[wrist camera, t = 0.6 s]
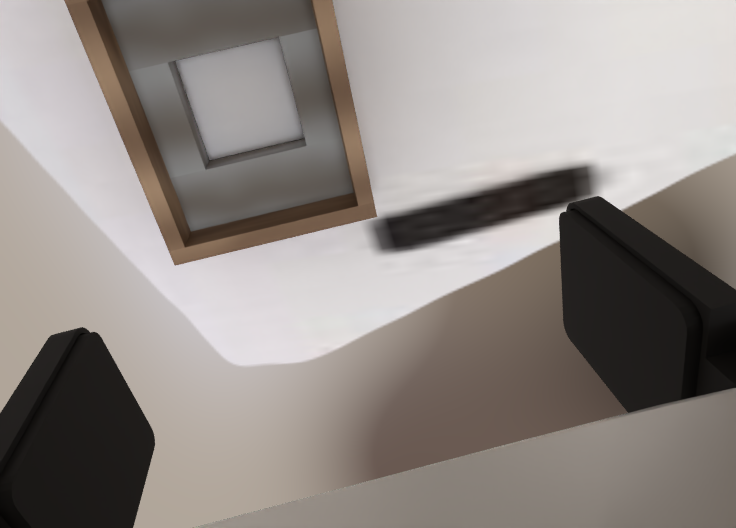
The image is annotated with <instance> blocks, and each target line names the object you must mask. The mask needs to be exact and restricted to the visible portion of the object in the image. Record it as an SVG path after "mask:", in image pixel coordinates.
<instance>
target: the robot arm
mask: <svg viewBox="0 0 736 528" xmlns="http://www.w3.org/2000/svg"><path fill="white" fill-rule="evenodd" d="M559 229H560V252H561V276H562V299H563V321H564V327H565V331H566V333H567V335H568V337H569V339H570V340H571V342H572V343H573V344H574V345H575V347H576V348H577V349H578V350H579V352H580V353H581V354H582V355H583V357H584V358H585V359H586V360H587V361H588V363H589V364H590V365H591V367H592V368H593V369H594V370H595V372H596V373H597V374H598V375H599V377H600V378H601V379H602V380H603V382H604V383H605V384H606V385H607V387H608V388H609V389H610V390H611V392H612V393H613V394H614V395H615V397H616V398H617V399H618V400H619V402H620V403H621V404H622V406H623V407H624V408H625V409H626V411H627V412H628V413H627V414H623V415H619V416H615V417H611V418H607V419H603V420H600V421H596V422H592V423H588V424H584V425H580V426H576V427H573V428H569V429H565V430H561V431H557V432H553V433H550V434H546V435H542V436H538V437H534V438H530V439H526V440H523V441H519V442H515V443H511V444H507V445H504V446H500V447H496V448H492V449H488V450H484V451H481V452H477V453H473V454H470V455H466V456H462V457H458V458H454V459H450V460H447V461H443V462H439V463H435V464H432V465H428V466H424V467H420V468H417V469H413V470H409V471H405V472H401V473H398V474H394V475H390V476H387V477H383V478H379V479H375V480H371V481H367V482H364V483H360V484H357V485H352V486H349V487H346V488H341V489H338V490H334V491H330V492H326V493H322V494H319V495H315V496H311V497H307V498H303V499H300V500H296V501H292V502H288V503H285V504H281V505H277V506H273V507H269V508H266V509H262V510H258V511H254V512H251V513H247V514H243V515H239V516H235V517H232V518H228V519H224V520H221V521H217V522H213V523H209V524H206V525H202V526H198V527H194V528H736V290H735V289H734V288H732V287H731V286H729V285H728V284H727V283H725V282H724V281H722V280H721V279H719V278H718V277H716V276H715V275H713V274H712V273H711V272H709V271H708V270H706V269H705V268H703V267H702V266H700V265H699V264H697V263H696V262H694V261H693V260H692V259H690V258H689V257H687V256H686V255H684V254H683V253H681V252H680V251H679V250H677V249H676V248H674V247H673V246H671V245H670V244H668V243H667V242H666V241H664V240H663V239H661V238H660V237H658V236H657V235H655V234H654V233H653V232H651V231H650V230H648V229H647V228H645V227H644V226H642V225H641V224H639V223H638V222H636V221H635V220H634V219H632V218H631V217H629V216H628V215H626V214H625V213H624V212H622V211H621V210H619V209H618V208H616V207H615V206H613V205H612V204H610V203H609V202H608V201H606V200H605V199H603V198H602V197H599V196H597V197H593V198H589V199H585V200H581V201H577V202H573V203H570V204H569V205H568V206H567V210H566V212H562V213H561V214H560V217H559ZM154 446H155V439H154V433H153V430H152V428H151V426H150V424H149V423H148V421H147V419H146V417H145V416H144V414H143V412H142V410H141V408H140V406H139V405H138V403H137V401H136V399H135V397H134V396H133V394H132V392H131V390H130V388H129V387H128V385H127V383H126V381H125V380H124V378H123V376H122V374H121V372H120V370H119V369H118V367H117V365H116V363H115V361H114V360H113V358H112V356H111V354H110V352H109V351H108V349H107V347H106V345H105V344H104V342H103V340H102V338H101V337H100V335H99V334H98V333H96V332H91V333H90V332H89V331H88V330H87V329H85V328H83V327H82V328H77V329H74V330H70V331H66V332H62V333H58V334H54V335H51V336H50V337H49V338H48V340H47V341H46V343H45V344H44V346H43V348H42V349H41V351H40V352H39V354H38V355H37V357H36V359H35V360H34V362H33V363H32V365H31V366H30V368H29V369H28V371H27V372H26V374H25V376H24V377H23V379H22V380H21V382H20V383H19V385H18V387H17V389H16V390H15V391H14V393H13V394H12V396H11V397H10V399H9V401H8V402H7V404H6V406H5V407H4V408H3V410H2V412H1V413H0V528H133V526H134V522H135V519H136V515H137V511H138V507H139V504H140V500H141V496H142V492H143V488H144V485H145V481H146V477H147V474H148V470H149V466H150V462H151V458H152V455H153V451H154Z"/></svg>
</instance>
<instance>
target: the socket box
mask: <svg viewBox="0 0 736 528" xmlns="http://www.w3.org/2000/svg"><path fill="white" fill-rule="evenodd" d="M64 1H65V3H66V5H67V8H68V10H69V13H70V15H71V17H72V20H73V22H74V25H75V27H76V29H77V32H78V34H79V37H80V39H81V41H82V44H83V46H84V49H85V51H86V53H87V56H88V58H89V61H90V63H91V65H92V68H93V70H94V73H95V75H96V77H97V80H98V82H99V85H100V87H101V89H102V92H103V94H104V97H105V99H106V101H107V104H108V106H109V109H110V111H111V113H112V116H113V118H114V121H115V123H116V125H117V128H118V130H119V133H120V135H121V137H122V140H123V142H124V145H125V147H126V149H127V152H128V154H129V157H130V159H131V161H132V164H133V166H134V169H135V171H136V173H137V176H138V178H139V181H140V183H141V185H142V188H143V190H144V193H145V195H146V197H147V200H148V202H149V205H150V207H151V209H152V212H153V214H154V217H155V219H156V221H157V224H158V226H159V229H160V231H161V233H162V236H163V238H164V241H165V243H166V245H167V248H168V250H169V253H170V255H171V257H172V260H173V262H174V265H179V264H183V263H187V262H191V261H195V260H200V259H204V258H208V257H212V256H216V255H220V254H225V253H229V252H233V251H237V250H241V249H245V248H249V247H254V246H258V245H262V244H266V243H270V242H274V241H278V240H283V239H287V238H291V237H295V236H299V235H303V234H308V233H312V232H316V231H320V230H324V229H328V228H332V227H337V226H341V225H345V224H349V223H353V222H357V221H361V220H366V219H370V218H374V217H377V214H376V210H375V205H374V200H373V195H372V190H371V185H370V181H369V176H368V171H367V166H366V161H365V157H364V152H363V147H362V142H361V137H360V132H359V128H358V123H357V118H356V113H355V108H354V103H353V99H352V94H351V89H350V84H349V79H348V75H347V70H346V65H345V60H344V55H343V50H342V46H341V41H340V36H339V31H338V26H337V22H336V17H335V12H334V7H333V2H332V0H64ZM277 37H279V40H280V44H281V48H282V52H283V55H284V59H285V63H286V67H287V71H288V75H289V79H290V83H291V87H292V91H293V94H294V98H295V102H296V106H297V110H298V114H299V118H300V122H301V126H302V130H303V133H304V137H305V139H300V140H296V141H292V142H288V143H283V144H279V145H275V146H271V147H266V148H262V149H258V150H254V151H249V152H245V153H241V154H237V155H232V156H228V157H224V158H220V159H215V160H211V161H209V159H208V156H207V153H206V150H205V147H204V144H203V141H202V138H201V136H200V133H199V130H198V127H197V124H196V121H195V118H194V115H193V113H192V110H191V107H190V104H189V101H188V98H187V95H186V92H185V89H184V87H183V84H182V81H181V78H180V75H179V72H178V69H177V66H176V64H175V61H176V60H181V59H185V58H190V57H194V56H198V55H203V54H207V53H211V52H216V51H220V50H224V49H229V48H233V47H238V46H242V45H246V44H251V43H255V42H259V41H264V40H268V39H273V38H277Z"/></svg>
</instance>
